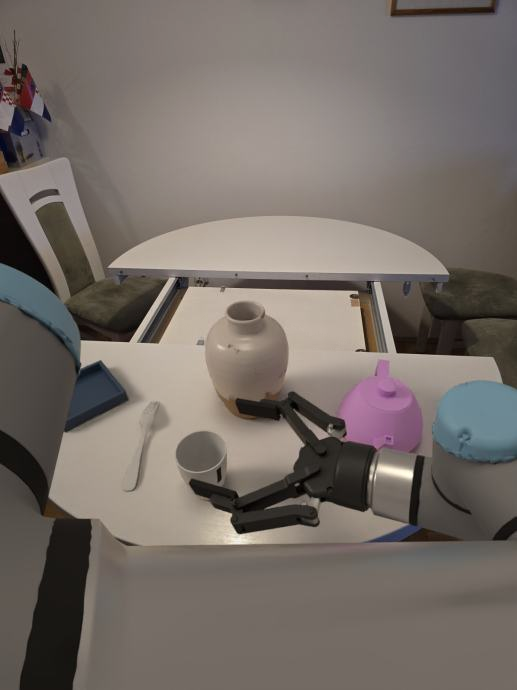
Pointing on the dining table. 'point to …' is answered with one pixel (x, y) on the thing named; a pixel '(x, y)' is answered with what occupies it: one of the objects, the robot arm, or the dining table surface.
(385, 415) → the teapot
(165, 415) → the dining table surface
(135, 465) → the fork
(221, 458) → the cup
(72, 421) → the tray
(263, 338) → the vase
